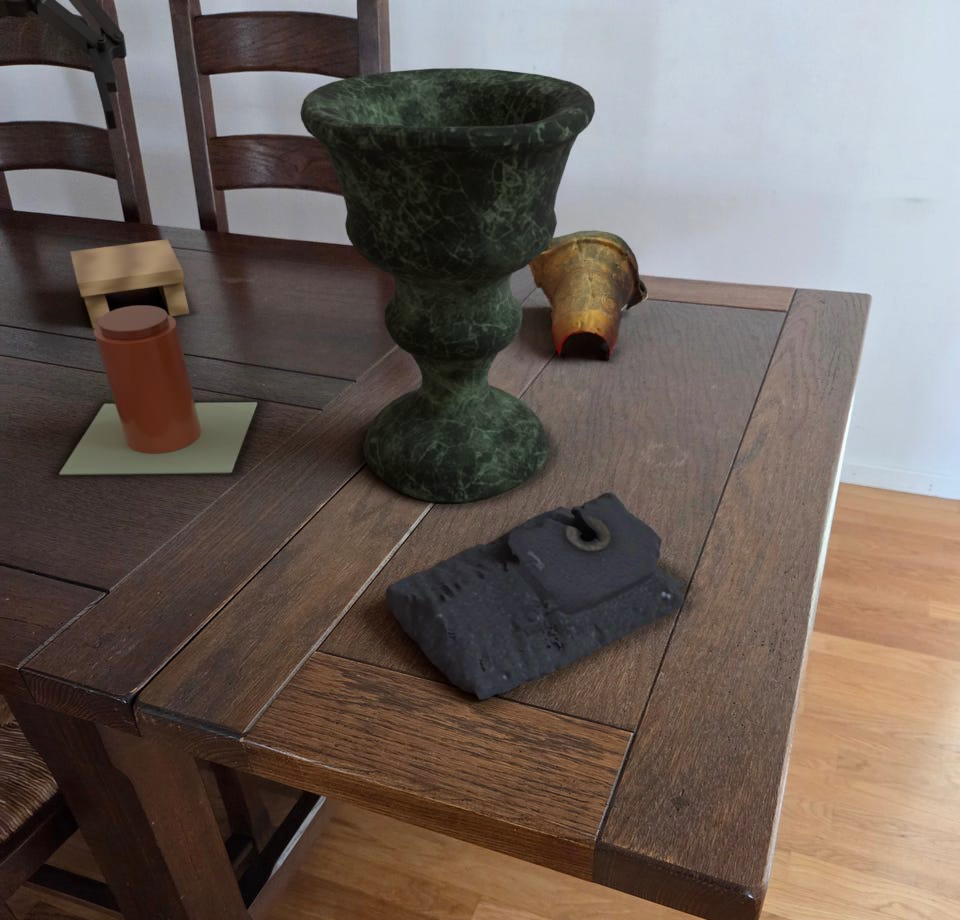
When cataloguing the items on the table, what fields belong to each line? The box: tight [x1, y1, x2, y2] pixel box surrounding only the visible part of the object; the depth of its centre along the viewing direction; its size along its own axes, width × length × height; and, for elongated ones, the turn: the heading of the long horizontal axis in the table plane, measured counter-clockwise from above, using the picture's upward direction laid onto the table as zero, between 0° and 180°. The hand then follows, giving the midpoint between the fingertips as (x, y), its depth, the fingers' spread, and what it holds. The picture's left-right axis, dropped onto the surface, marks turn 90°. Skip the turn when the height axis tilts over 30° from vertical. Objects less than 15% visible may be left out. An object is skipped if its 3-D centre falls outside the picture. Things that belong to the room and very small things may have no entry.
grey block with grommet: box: [385, 492, 685, 700], centre depth 67 cm, size 15×22×5 cm
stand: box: [70, 238, 190, 329], centre depth 111 cm, size 12×12×6 cm
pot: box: [527, 230, 649, 361], centre depth 105 cm, size 17×11×18 cm
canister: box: [93, 304, 201, 454], centre depth 84 cm, size 7×7×12 cm
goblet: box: [300, 67, 596, 504], centre depth 76 cm, size 22×23×30 cm
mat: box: [58, 401, 258, 476], centre depth 88 cm, size 16×14×1 cm
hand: (38, 126), depth 87 cm, fingers open, 13 cm apart
